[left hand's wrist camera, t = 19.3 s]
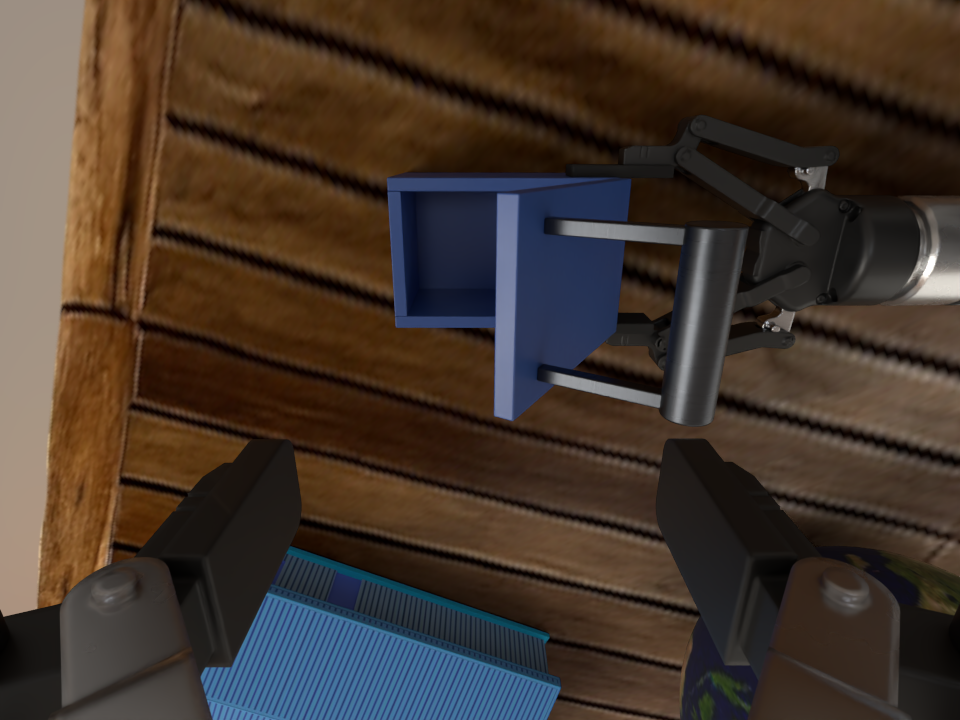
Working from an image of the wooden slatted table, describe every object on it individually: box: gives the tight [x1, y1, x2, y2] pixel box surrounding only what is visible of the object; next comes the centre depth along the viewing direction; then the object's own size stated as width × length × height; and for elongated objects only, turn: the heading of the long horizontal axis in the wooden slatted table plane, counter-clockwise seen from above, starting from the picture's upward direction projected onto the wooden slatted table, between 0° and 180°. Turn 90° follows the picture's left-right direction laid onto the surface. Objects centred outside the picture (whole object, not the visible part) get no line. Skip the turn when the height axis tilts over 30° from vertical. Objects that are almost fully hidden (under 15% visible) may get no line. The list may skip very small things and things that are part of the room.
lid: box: [494, 178, 749, 427], centre depth 26 cm, size 15×10×9 cm
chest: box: [387, 173, 618, 328], centre depth 39 cm, size 15×10×9 cm
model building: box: [201, 546, 561, 720], centre depth 55 cm, size 39×24×10 cm, turn 66°
